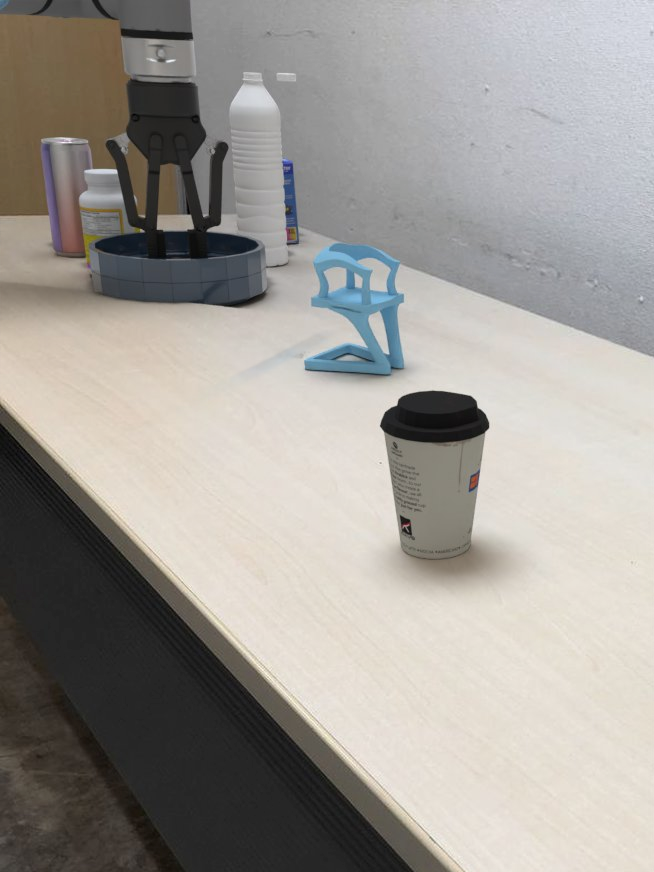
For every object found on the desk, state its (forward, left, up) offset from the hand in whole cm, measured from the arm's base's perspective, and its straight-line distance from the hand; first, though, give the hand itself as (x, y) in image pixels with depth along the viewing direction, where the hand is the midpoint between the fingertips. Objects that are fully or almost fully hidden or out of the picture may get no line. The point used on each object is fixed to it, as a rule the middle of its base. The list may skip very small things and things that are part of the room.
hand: (180, 285), depth 135 cm
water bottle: (0, +23, -1) cm, 23 cm away
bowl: (0, +1, -1) cm, 1 cm away
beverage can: (-25, +16, -1) cm, 30 cm away
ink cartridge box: (-9, +39, -1) cm, 40 cm away
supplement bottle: (-13, +7, -1) cm, 15 cm away
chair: (+32, -19, -1) cm, 37 cm away
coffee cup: (+54, -56, -1) cm, 78 cm away
